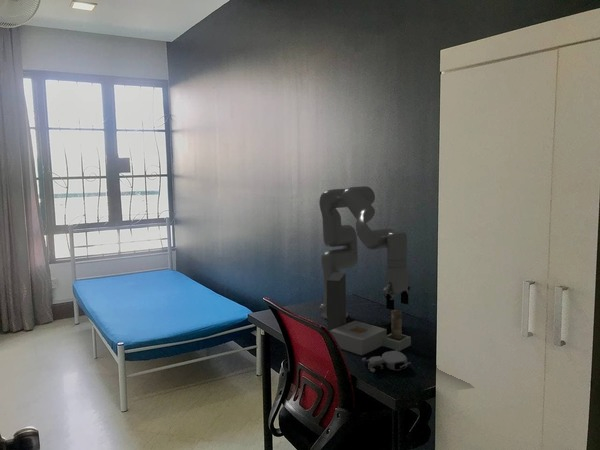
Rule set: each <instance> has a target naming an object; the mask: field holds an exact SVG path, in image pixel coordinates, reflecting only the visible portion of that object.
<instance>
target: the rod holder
mask: <svg viewBox="0 0 600 450" xmlns="http://www.w3.org/2000/svg"><path fill="white" fill-rule="evenodd" d="M411 345H412V336H410V335H406V334H403V333H402V340H400V341H397V340H393V339H391V333H389V334H387V335H386V336H384V337H382V346H381V347H384V348H389V349H392V350H393V351H395V350H396V349H398V350H397V351H399V352H401V351H402V350H404V349H406V348H408V347H410V346H411Z"/></svg>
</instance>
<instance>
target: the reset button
mask: <svg viewBox="0 0 600 450" xmlns="http://www.w3.org/2000/svg"><path fill="white" fill-rule="evenodd" d="M352 332H356V333H359V334H360V333H362V332H365V331H362V330H359V329H356V330H354V331H352Z"/></svg>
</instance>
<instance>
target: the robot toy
mask: <svg viewBox="0 0 600 450" xmlns="http://www.w3.org/2000/svg"><path fill="white" fill-rule="evenodd" d="M397 350H398V349H396V350H390V351H385V352H384V353H382V355H381V356H380V355H378V356H366V357H362V358H361V361H362V362H365V364H364V366H365V367H366V368H367V369H368V370H369V371H370V372H371V373H378V372H380V371H381V370H383V369H385V368H387V369H389V370H391V371H397V372H399V371H401V370H404V369H406V368H407V367H408V366H409V365H411V363H412V362H411V361H410V362H409V361H408V358H407V356H406V355H405V354H404V353H403V352H401V351H397Z"/></svg>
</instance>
